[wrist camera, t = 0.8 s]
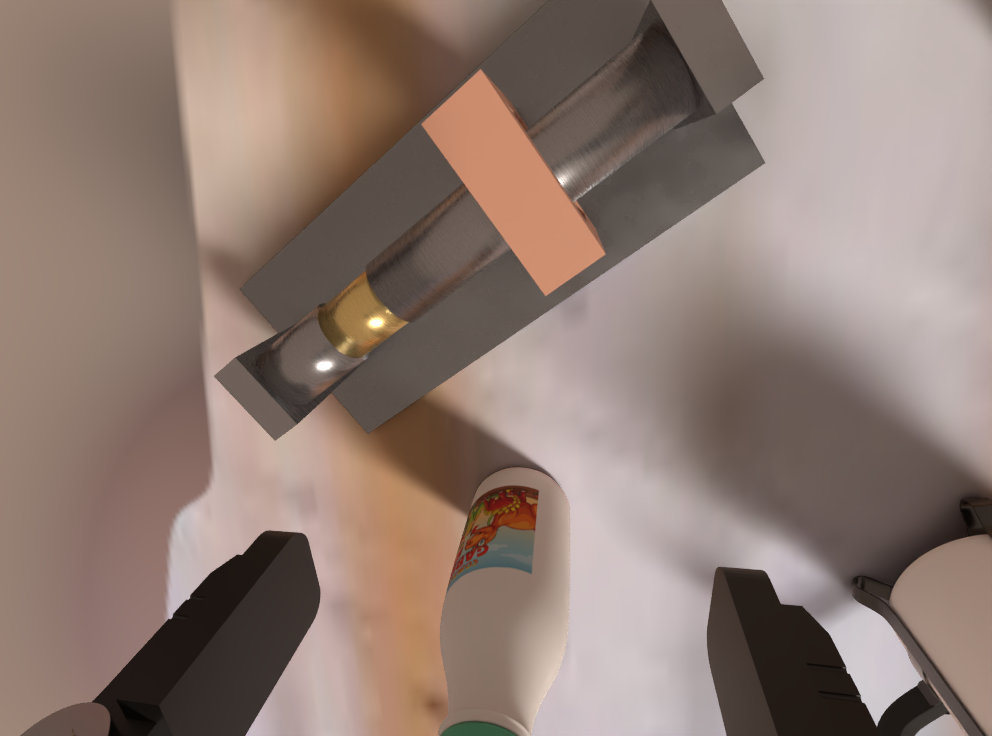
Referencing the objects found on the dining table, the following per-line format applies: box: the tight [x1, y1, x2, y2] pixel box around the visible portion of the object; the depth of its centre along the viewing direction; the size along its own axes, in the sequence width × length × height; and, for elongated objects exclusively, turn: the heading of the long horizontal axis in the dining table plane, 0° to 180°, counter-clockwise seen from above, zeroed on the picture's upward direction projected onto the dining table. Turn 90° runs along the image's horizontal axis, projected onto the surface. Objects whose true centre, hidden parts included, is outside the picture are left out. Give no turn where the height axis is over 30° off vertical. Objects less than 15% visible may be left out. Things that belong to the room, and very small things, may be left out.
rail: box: [214, 0, 765, 440], centre depth 28 cm, size 32×14×9 cm, turn 127°
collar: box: [421, 69, 606, 296], centre depth 24 cm, size 3×8×10 cm, turn 38°
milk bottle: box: [439, 467, 570, 736], centre depth 31 cm, size 8×8×20 cm
